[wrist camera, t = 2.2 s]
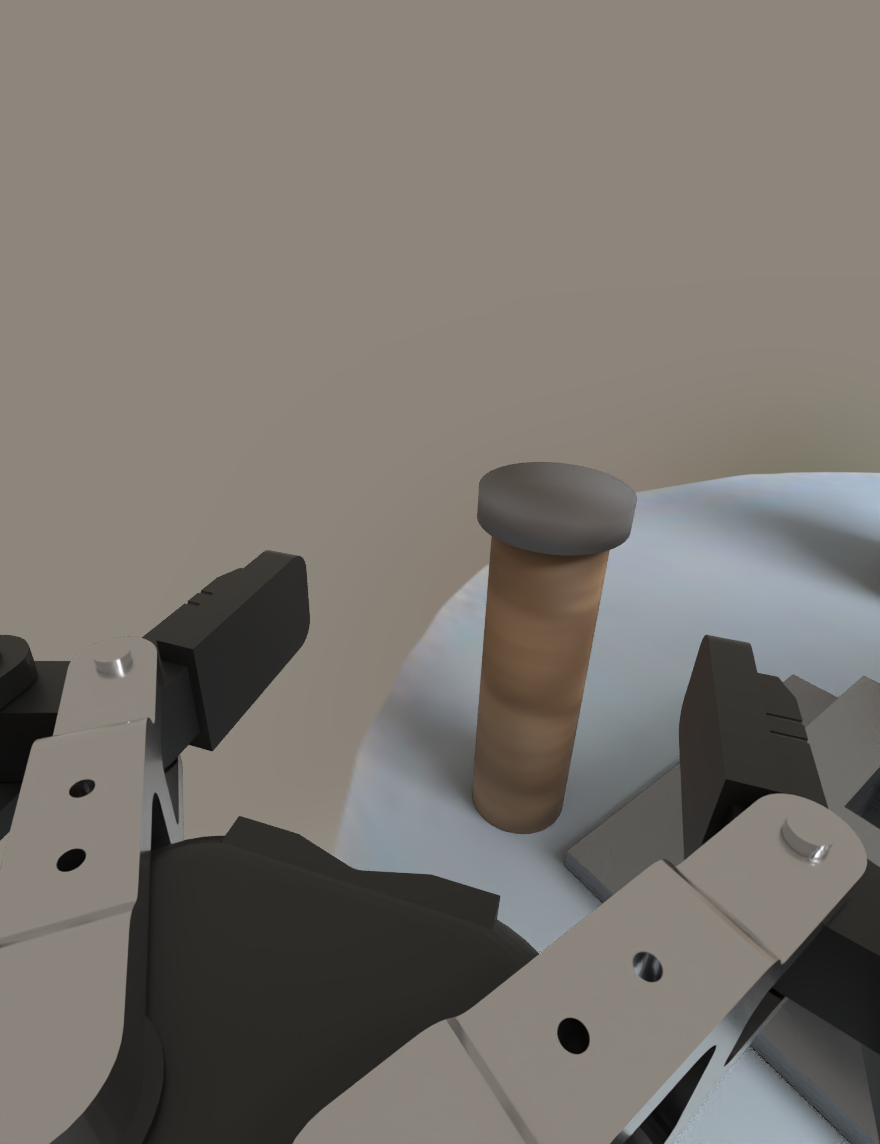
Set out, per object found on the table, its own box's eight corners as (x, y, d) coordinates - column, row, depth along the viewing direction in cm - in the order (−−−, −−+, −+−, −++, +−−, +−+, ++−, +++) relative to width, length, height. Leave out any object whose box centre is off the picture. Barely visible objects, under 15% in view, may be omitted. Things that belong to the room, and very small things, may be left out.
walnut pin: (518, 736, 34) (553, 452, 26) (599, 804, 30) (669, 497, 22) (436, 785, 31) (447, 481, 23) (515, 868, 27) (561, 538, 19)
